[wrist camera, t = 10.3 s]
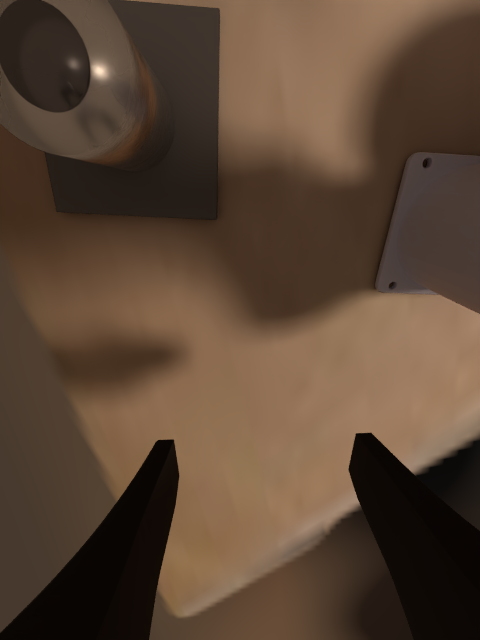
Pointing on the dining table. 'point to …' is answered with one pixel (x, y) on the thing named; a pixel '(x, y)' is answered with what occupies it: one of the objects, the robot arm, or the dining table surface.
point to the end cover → (80, 85)
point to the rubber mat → (189, 113)
